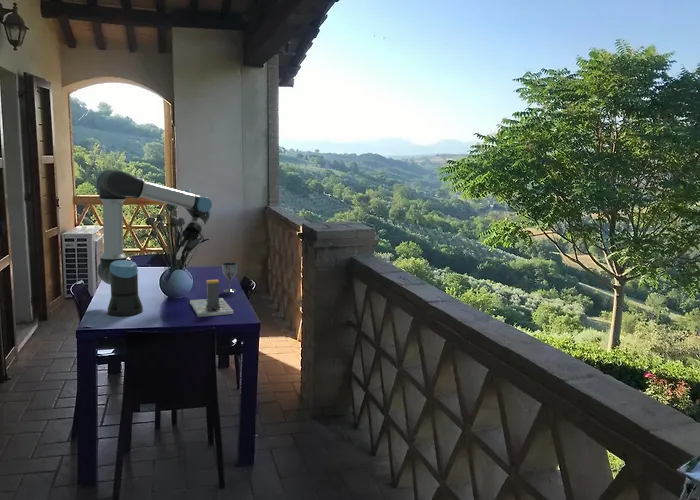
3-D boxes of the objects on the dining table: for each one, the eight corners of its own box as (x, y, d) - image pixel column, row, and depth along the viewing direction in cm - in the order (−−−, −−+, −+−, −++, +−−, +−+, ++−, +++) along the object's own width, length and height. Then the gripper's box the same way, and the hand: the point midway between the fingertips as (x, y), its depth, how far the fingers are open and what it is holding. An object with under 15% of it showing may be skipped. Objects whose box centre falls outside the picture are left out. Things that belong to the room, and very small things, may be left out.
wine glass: (233, 292, 306) (233, 265, 303) (220, 291, 307) (219, 264, 305) (239, 289, 314) (239, 262, 311) (226, 288, 315) (225, 262, 313)
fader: (207, 309, 264) (207, 282, 262) (205, 306, 269) (205, 279, 267) (220, 307, 267) (220, 281, 265) (218, 305, 271) (218, 279, 269)
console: (198, 317, 258) (198, 313, 258) (190, 303, 282) (189, 300, 282) (233, 314, 265) (233, 310, 264) (222, 300, 288) (222, 297, 288)
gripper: (206, 236, 292) (190, 266, 274) (181, 230, 291) (164, 259, 273) (207, 225, 287) (191, 255, 269) (182, 218, 287) (164, 248, 268)
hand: (177, 257), depth 271 cm, fingers closed
